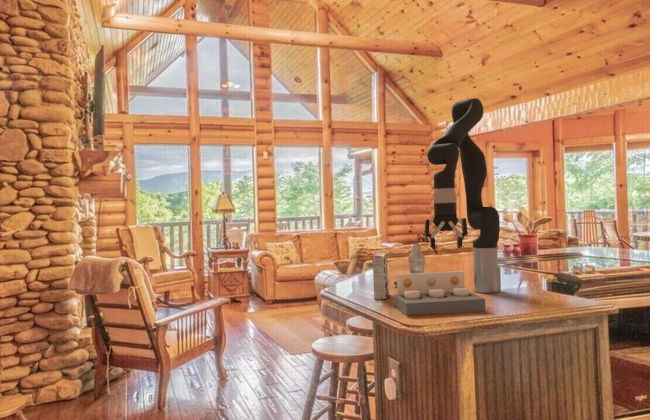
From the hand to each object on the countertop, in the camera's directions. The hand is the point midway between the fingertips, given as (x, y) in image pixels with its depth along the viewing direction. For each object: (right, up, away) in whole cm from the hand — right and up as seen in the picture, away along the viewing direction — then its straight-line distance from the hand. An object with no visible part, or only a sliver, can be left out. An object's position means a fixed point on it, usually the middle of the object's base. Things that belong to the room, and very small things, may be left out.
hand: (446, 248), depth 165 cm
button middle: (-4, -17, -4) cm, 18 cm away
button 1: (-13, -17, -4) cm, 22 cm away
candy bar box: (-20, -20, +19) cm, 34 cm away
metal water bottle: (-7, -20, +15) cm, 26 cm away
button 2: (+4, -16, -3) cm, 17 cm away
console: (-4, -20, -5) cm, 21 cm away
